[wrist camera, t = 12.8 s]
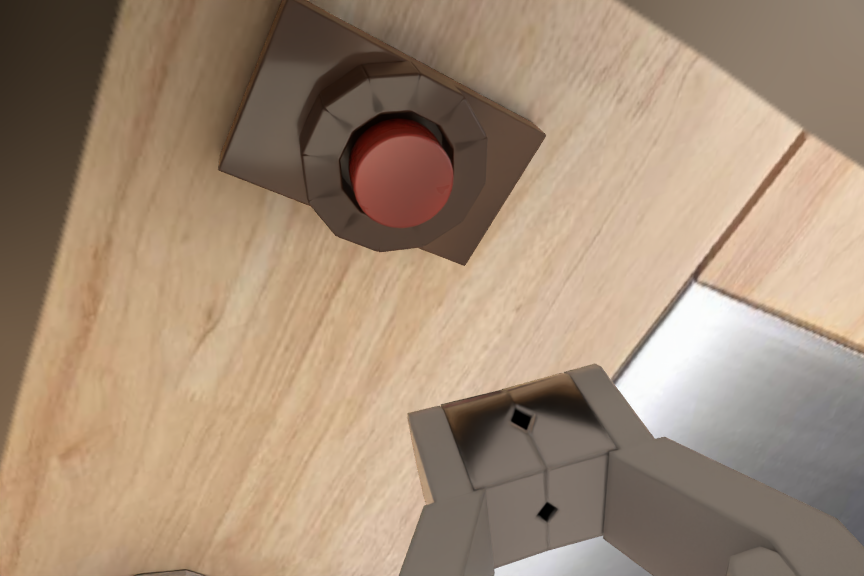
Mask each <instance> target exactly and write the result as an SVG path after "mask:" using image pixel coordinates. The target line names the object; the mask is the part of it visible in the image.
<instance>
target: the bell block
mask: <svg viewBox="0 0 864 576" xmlns="http://www.w3.org/2000/svg"><path fill="white" fill-rule="evenodd" d="M390 119H408V120H412V121H415V122H417V123H420V124H421V125H423V126H425V127H426V128H427V129H429V130H430V131H431V132H432V133H433V134H434V136H435V137H436V138H437V140H438V141H439V143H440V144H441V146H442V147H443V149H444V150H445V152H446V153H447V155H448V157H449V159H450V161H451V164H452V167H453V175H454V179H453V187H452V191H451V193H450V196H449V198H448V200H447V202H446V204H445V205H444V207H443V208H442V209H441V210H440V211H439V212H438V213H437V214H436V215H435V216H434V217H432V218H431V219H430V220H428V221H426V222H424V223H422V224H420V225H417V226H413V227H408V228H392V227H387V226H384V225H381V224H379V223H377V222H375V221H374V220H372V219H371V218H369V217H368V216H367V215H366V214H365V213H364V212H363V210H362V209H361V208H360V206H359V204H358V202H357V200H356V197H355V194H354V190H353V187H352V184H351V180H350V177H349V171H348V164H349V157H350V153H351V151H352V148H353V146H354V144H355V143H356V141H357V140H358V138H359V137H360V136H361V135H362V134H363V133H364V132H365V131H366V130H367V129H369V128H370V127H372V126H373V125H375V124H377V123H379V122H382V121H385V120H390ZM545 137H546V134H545V133H544V132H543V131H541V130H540V129H539V128H538V127H537V126H536V125H535V124H534V123H532V122H530V121H529V120H527V119H525V118H523V117H521V116H519V115H517V114H516V113H514V112H512V111H510V110H508V109H506V108H504V107H503V106H501V105H499V104H497V103H495V102H493V101H492V100H490V99H488V98H486V97H484V96H482V95H480V94H479V93H477V92H475V91H473V90H471V89H469V88H467V87H466V86H464V85H462V84H460V83H458V82H456V81H454V80H453V79H451V78H449V77H447V76H445V75H443V74H441V73H440V72H438V71H436V70H434V69H432V68H430V67H428V66H427V65H425V64H423V63H421V62H419V61H417V60H415V59H414V58H412V57H410V56H408V55H406V54H404V53H403V52H401V51H399V50H397V49H395V48H393V47H391V46H390V45H388V44H386V43H384V42H382V41H380V40H378V39H377V38H375V37H373V36H371V35H369V34H367V33H365V32H364V31H362V30H360V29H358V28H356V27H354V26H352V25H351V24H349V23H347V22H345V21H343V20H341V19H339V18H338V17H336V16H334V15H332V14H330V13H328V12H326V11H325V10H323V9H321V8H319V7H317V6H315V5H314V4H312V3H310V2H308V1H306V0H282V2H281V4H280V7H279V9H278V12H277V14H276V17H275V19H274V22H273V24H272V27H271V29H270V32H269V34H268V37H267V39H266V42H265V44H264V47H263V49H262V52H261V54H260V57H259V59H258V62H257V64H256V67H255V69H254V72H253V74H252V77H251V79H250V82H249V84H248V87H247V89H246V91H245V94H244V96H243V99H242V101H241V104H240V106H239V109H238V111H237V114H236V116H235V119H234V121H233V124H232V126H231V129H230V131H229V134H228V136H227V139H226V141H225V144H224V146H223V149H222V151H221V154H220V159H219V166H218V170H219V171H221V172H224V173H227V174H229V175H232V176H234V177H237V178H239V179H242V180H245V181H247V182H250V183H252V184H255V185H257V186H260V187H263V188H265V189H268V190H270V191H273V192H276V193H278V194H281V195H283V196H286V197H288V198H291V199H294V200H296V201H299V202H301V203H304V204H306V205H309V206H311V207H312V208H313V209H314V210H315V212H316V213H317V214H318V215H319V216H320V218H321V219H322V220H323V221H324V222H325V224H326V225H327V226H328V227H329V229H330V230H331V231H332V232H333V233H334V235H335V236H338V237H340V238H342V239H345V240H348V241H350V242H353V243H356V244H358V245H361V246H364V247H366V248H369V249H372V250H374V251H379V252H386V251H394V250H403V249H411V248H420V249H422V250H425V251H428V252H430V253H433V254H435V255H438V256H440V257H443V258H446V259H448V260H451V261H453V262H456V263H458V264H461V265H464V266H465V265H466V263H467V262H468V260H469V259H470V257H471V255H472V254H473V252H474V251H475V249H476V247H477V246H478V244H479V243H480V241H481V239H482V238H483V236H484V235H485V233H486V231H487V230H488V228H489V227H490V225H491V223H492V222H493V220H494V219H495V217H496V215H497V214H498V212H499V211H500V209H501V207H502V206H503V204H504V203H505V201H506V199H507V198H508V196H509V195H510V193H511V191H512V190H513V188H514V187H515V185H516V183H517V182H518V180H519V179H520V177H521V175H522V174H523V172H524V171H525V169H526V167H527V166H528V164H529V162H530V161H531V159H532V158H533V156H534V154H535V153H536V151H537V150H538V148H539V146H540V145H541V143H542V142H543V140H544V138H545Z"/></svg>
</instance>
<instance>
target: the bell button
mask: <svg viewBox="0 0 864 576" xmlns="http://www.w3.org/2000/svg"><path fill="white" fill-rule="evenodd" d="M348 171H349V177H350V180H351V184H352V187H353V190H354V194H355V197H356V200H357V202H358V204H359V206H360V208H361V209H362V210H363V212H364V213H365V214H366V215H367V216H368V217H369V218H371V219H372V220H374V221H375V222H377V223H379V224H381V225H384V226H387V227H392V228H408V227H413V226H417V225H420V224H422V223H424V222H426V221H428V220H430V219H431V218H432V217H434V216H435V215H436V214H437V213H438V212H439V211H440V210H441V209H442V208H443V207H444V205H445V204H446V202H447V200H448V198H449V196H450V193H451V191H452V187H453V179H454V175H453V167H452V164H451V161H450V159H449V157H448V155H447V153H446V152H445V150H444V149H443V147H442V146H441V144H440V143H439V141H438V140H437V138H436V137H435V136H434V134H433V133H432V132H431V131H430V130H429V129H427V128H426V127H425V126H423V125H421V124H420V123H417V122H415V121H412V120H408V119H390V120H385V121H382V122H379V123H377V124H375V125H373V126H372V127H370V128H369V129H367V130H366V131H365V132H364V133H363V134H362V135H361V136H360V137H359V138H358V140H357V141H356V143H355V144H354V146H353V148H352V151H351V153H350V157H349V164H348Z"/></svg>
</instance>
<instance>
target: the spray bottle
mask: <svg viewBox="0 0 864 576" xmlns="http://www.w3.org/2000/svg"><path fill="white" fill-rule="evenodd" d="M136 576H203V575H200V574H197V573H194V572H191V571H187V570H184V571H173V572H163V573H152V574H142V575H136Z"/></svg>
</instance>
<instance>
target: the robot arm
mask: <svg viewBox="0 0 864 576" xmlns="http://www.w3.org/2000/svg"><path fill="white" fill-rule="evenodd" d="M407 418H408V424H409V429H410V434H411V439H412V444H413V450H414V455H415V460H416V465H417V469H418V474H419V478H420V483H421V487H422V491H423V496H424V499H425V503H426V505H425V506H424V507H423V510H422V513H421V515H420V518H419V521H418V524H417V527H416V529H415V532H414V535H413V538H412V540H411V543H410V546H409V549H408V551H407V554H406V557H405V560H404V562H403V565H402V568H401V571H400V573H399V576H494V573H495V572H494V569H495V568H498V567H501V566H504V565H507V564H510V563H513V562H516V561H519V560H522V559H524V558H527V557H530V556H533V555H536V554H539V553H542V552H545V551H548V550H552V549H556V548H559V547H563V546H566V545H570V544H574V543H577V542H581V541H585V540H588V539H592V538H595V537H599V536H603V539H605V540H606V541H607V542H609V543H610V544H611V545H613V546H614V547H615V548H617V549H618V550H619V551H621V552H622V553H623V554H625V555H626V556H627V557H629V558H630V559H631V560H633V561H634V562H635V563H637V564H638V565H639V566H641V567H642V568H644V569H645V570H646V571H648V572H649V573H650V574H652V575H653V576H864V547H863V546H862V545H861V544H860V543H859V541H858V540H857V539H856V538H855V537H854V536H853V535H852V534H851V533H850V532H849V531H848V530H847V529H846V527H845V526H844V525H843V524H842V523H841V522H840V521H839V520H838V519H836V518H834V517H832V516H830V515H828V514H826V513H824V512H822V511H820V510H818V509H815V508H813V507H811V506H809V505H807V504H805V503H803V502H801V501H799V500H797V499H794V498H792V497H790V496H788V495H786V494H784V493H782V492H780V491H778V490H776V489H773V488H771V487H769V486H767V485H765V484H763V483H761V482H759V481H757V480H755V479H752V478H750V477H748V476H746V475H744V474H742V473H740V472H738V471H736V470H734V469H731V468H729V467H727V466H725V465H723V464H721V463H719V462H717V461H715V460H713V459H710V458H708V457H706V456H704V455H702V454H700V453H698V452H696V451H694V450H692V449H689V448H687V447H685V446H683V445H681V444H679V443H677V442H675V441H673V440H671V439H668V438H666V437H661V438H657V439H655V438H654V437H653V436H652V434H651V433H650V432H649V430H648V429H647V428H646V426H645V425H644V424H643V422H642V421H641V420H640V418H639V417H638V416H637V414H636V413H635V411H634V410H633V409H632V407H631V406H630V405H629V403H628V402H627V401H626V399H625V398H624V397H623V395H622V394H621V393H620V391H619V390H618V389H617V387H616V386H615V385H614V383H613V382H612V381H611V379H610V378H609V376H608V375H607V374H606V372H605V371H604V370H603V368H602V367H601V366H599V365H597V364H592V365H588V366H584V367H581V368H577V369H573V370H570V371H566V372H564V373H559V374H555V375H552V376H548V377H544V378H541V379H537V380H534V381H530V382H526V383H523V384H519V385H516V386H512V387H508V388H505V389H502V390H499V391H495V392H491V393H487V394H483V395H478V396H474V397H470V398H466V399H462V400H458V401H453V402H449V403H445V404H441V407H440V406H436V407H431V408H427V409H423V410H419V411H415V412H410V413H408V416H407Z"/></svg>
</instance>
